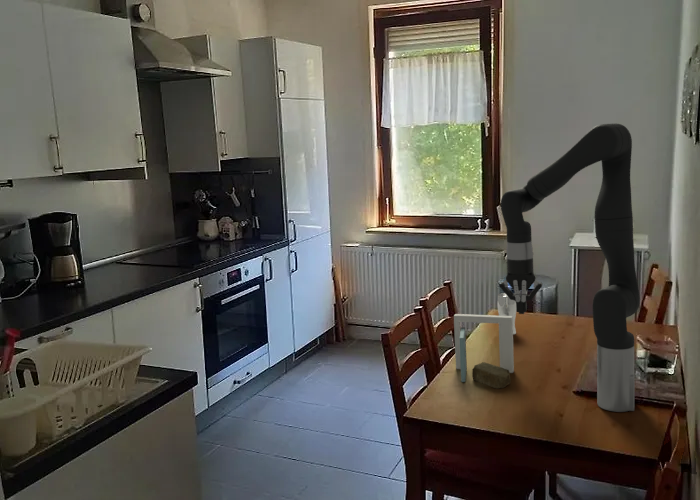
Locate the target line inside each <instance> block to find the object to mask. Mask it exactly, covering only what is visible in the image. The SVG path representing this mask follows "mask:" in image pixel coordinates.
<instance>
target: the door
mask: <svg viewBox="0 0 700 500" xmlns="http://www.w3.org/2000/svg"><path fill="white" fill-rule="evenodd" d="M466 335H467V334H466V327H464V326H460V363H461V369H460V379H461V380H460V382H461V383H466V378H467V370H468V369H467V368H468V367H467V366H468V365H467V363H468V362H467V340H466Z"/></svg>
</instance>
